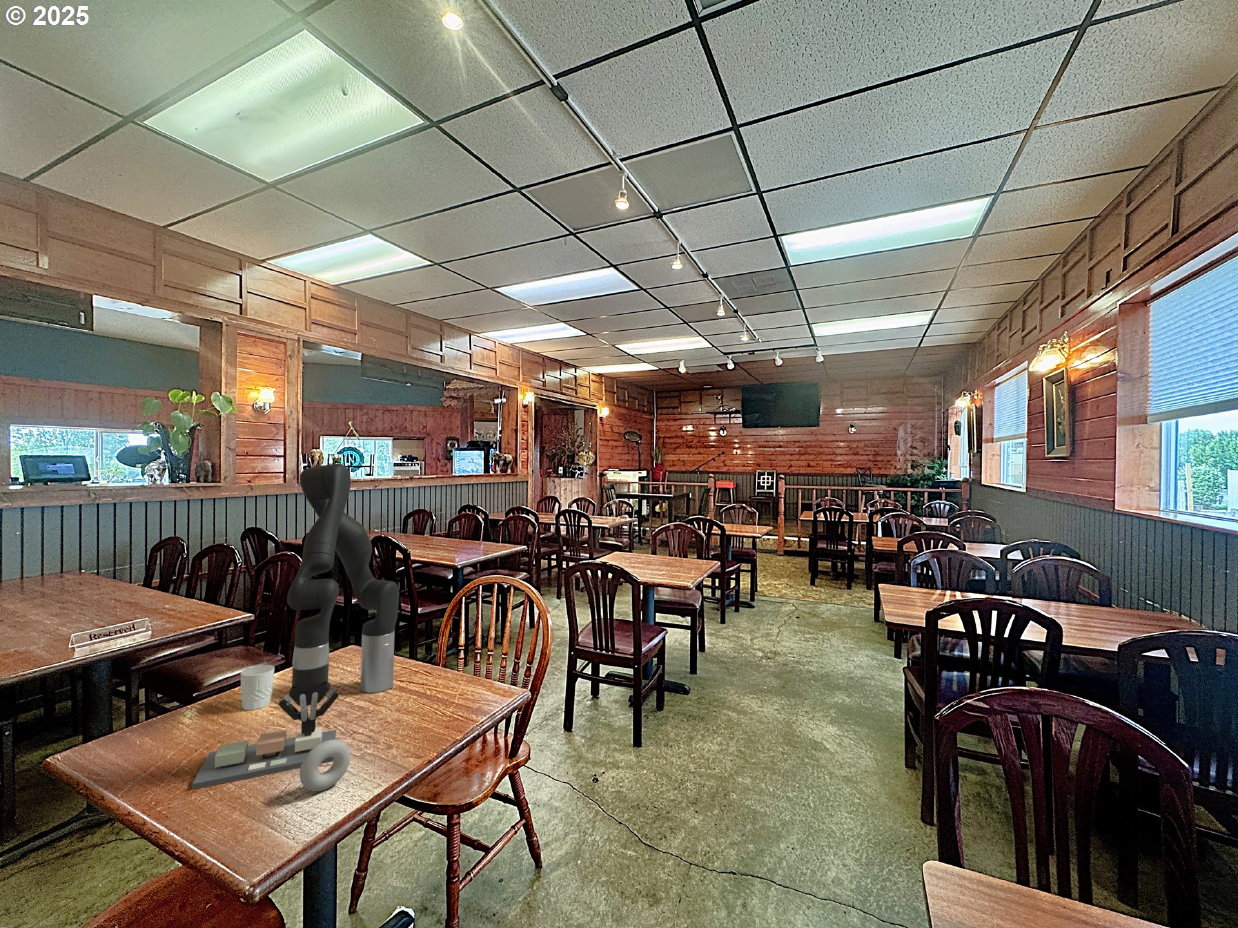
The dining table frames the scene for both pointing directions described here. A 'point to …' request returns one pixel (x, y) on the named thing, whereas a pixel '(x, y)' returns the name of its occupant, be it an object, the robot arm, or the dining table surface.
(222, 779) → the keypad plate
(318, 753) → the donut
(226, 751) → the sage key
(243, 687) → the white cup
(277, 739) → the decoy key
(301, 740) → the cream key
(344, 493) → the robot arm
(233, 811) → the dining table surface
